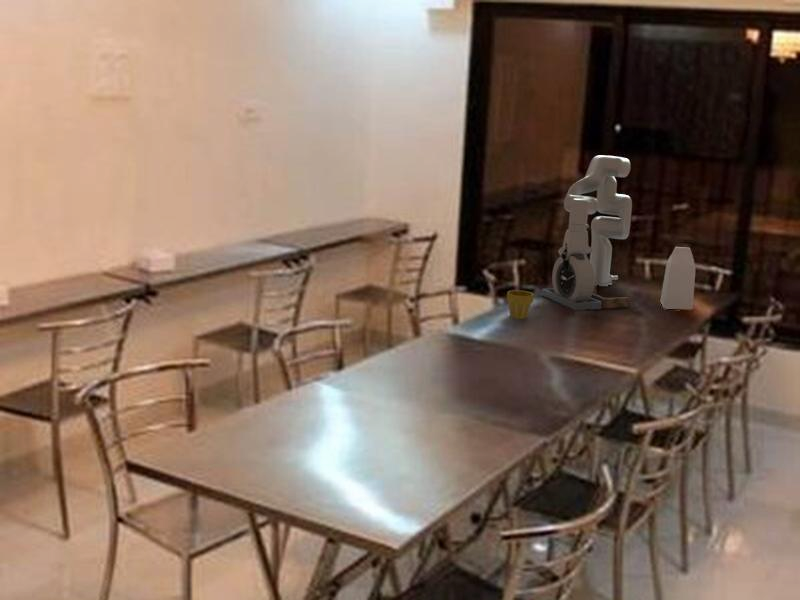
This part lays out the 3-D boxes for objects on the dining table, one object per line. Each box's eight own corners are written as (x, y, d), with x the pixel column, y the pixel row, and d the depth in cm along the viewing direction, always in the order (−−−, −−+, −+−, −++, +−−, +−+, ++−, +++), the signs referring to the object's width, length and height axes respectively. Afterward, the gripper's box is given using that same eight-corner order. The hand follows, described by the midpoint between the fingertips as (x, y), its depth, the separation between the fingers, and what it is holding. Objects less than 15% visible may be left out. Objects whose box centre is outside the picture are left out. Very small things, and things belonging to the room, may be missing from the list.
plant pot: (528, 321, 418) (530, 297, 416) (502, 318, 421) (504, 293, 419) (534, 315, 428) (536, 292, 426) (508, 312, 431) (510, 288, 429)
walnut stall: (594, 293, 475) (595, 285, 474) (627, 306, 452) (628, 297, 451) (571, 294, 470) (572, 286, 469) (603, 308, 448) (603, 298, 447)
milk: (688, 305, 462) (695, 246, 456) (692, 311, 451) (699, 250, 445) (659, 303, 463) (666, 244, 457) (663, 309, 452) (670, 248, 446)
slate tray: (567, 294, 470) (567, 287, 470) (601, 308, 446) (601, 301, 445) (541, 295, 465) (542, 288, 464) (574, 310, 441) (575, 303, 440)
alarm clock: (550, 292, 463) (554, 248, 459) (565, 292, 466) (568, 247, 462) (578, 304, 444) (582, 257, 440) (593, 303, 448) (597, 257, 443)
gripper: (590, 225, 455) (586, 266, 459) (555, 226, 448) (551, 267, 452) (600, 228, 448) (596, 269, 453) (564, 229, 442) (560, 271, 446)
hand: (573, 268), depth 452 cm, fingers closed on alarm clock, 7 cm apart
